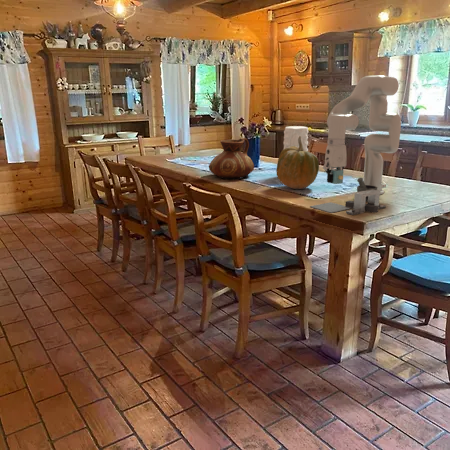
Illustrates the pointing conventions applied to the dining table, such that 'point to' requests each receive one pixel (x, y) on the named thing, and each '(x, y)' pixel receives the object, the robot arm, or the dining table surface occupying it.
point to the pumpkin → (297, 167)
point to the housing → (361, 199)
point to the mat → (331, 207)
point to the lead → (367, 206)
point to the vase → (295, 136)
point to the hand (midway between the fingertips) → (333, 181)
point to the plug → (337, 176)
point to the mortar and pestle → (364, 187)
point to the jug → (232, 160)
